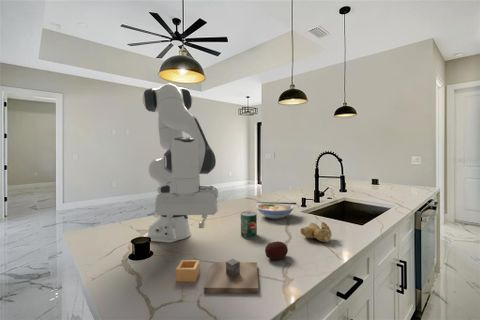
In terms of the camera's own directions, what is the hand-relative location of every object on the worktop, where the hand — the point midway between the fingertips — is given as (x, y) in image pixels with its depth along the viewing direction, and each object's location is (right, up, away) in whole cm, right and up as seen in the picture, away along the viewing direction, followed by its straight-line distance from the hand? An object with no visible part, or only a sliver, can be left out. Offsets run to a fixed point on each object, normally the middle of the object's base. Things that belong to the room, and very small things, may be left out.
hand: (187, 227), depth 79 cm
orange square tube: (0, -16, +1) cm, 16 cm away
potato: (+32, -16, +13) cm, 38 cm away
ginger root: (+54, -15, +32) cm, 64 cm away
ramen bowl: (+39, -13, +68) cm, 80 cm away
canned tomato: (+22, -15, +38) cm, 46 cm away
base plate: (+15, -16, -1) cm, 22 cm away
